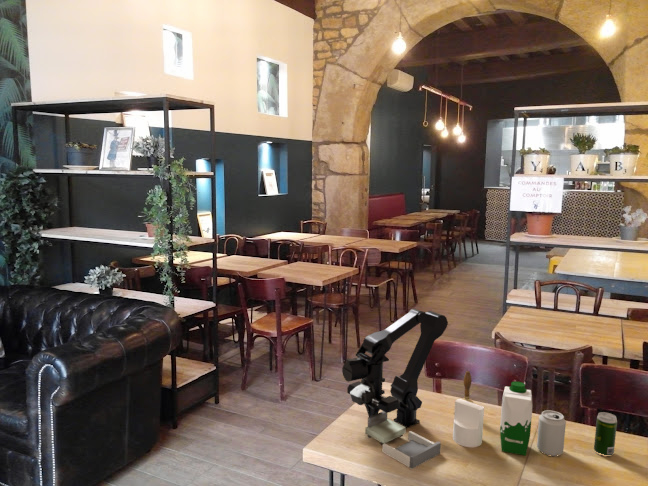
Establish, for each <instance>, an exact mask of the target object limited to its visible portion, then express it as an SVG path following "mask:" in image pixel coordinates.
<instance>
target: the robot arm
mask: <svg viewBox="0 0 648 486" xmlns="http://www.w3.org/2000/svg"><path fill="white" fill-rule="evenodd" d="M419 324H420V326H419V327H420V329H419V330H420V336H419V338H418V340H417V342H416V345H415V347H414V349H413V351H412V353H411V356H410V358H409V361H408V362H407V365H406V367H405V370H404V372H403V373H402V374H400V375H399V376H398V375H395V376H394V378H393V381H392V383H391V384H390V395H389V396H384V394H385V390H384V389H383V383H384V382H386V378H384V377H383V375H384V370H383V369H384V363H385V362H389V361H390V358H388V357H387V356H386V354H387V353H388V352H389V351H390V350H391V349H392V345H394V343H395V342H396V341H397V340H399V339H400V338H402V337H403V336H404V335H406V334H407V333H408V332H410V331H411V330H412V329H414V328H416V326H418V325H419ZM448 325H449V322H448V319H447V317H446V315H443V314H441V313H438V312H435V311H433V310H428V311H424V310H423V311H422V310H420V309H416V308H411V309H409V310H408V313H406V314H404V316H402V317H400V318H399V319H398V320H396V321H394V323H392V324H391V325H389V326H387V328H385V329H383V330H381V331H379V330H378V331H375V332H373V333H370V334H369V335H367V336H365V337H364V339H363V340H362V341H363V342H362V344H361V345H360V347H359V348H358V350H357V352H356V353H355V358H347V359H346V360H345V362H344V363H343V365H342V369H341V373H342V376H343V378H344V380H345V381H346V382H352V383H350V384H348V386H347V389H346V390H347V392H346V393H347V394H349V395H350V398H351V402H352V403H355V404H357V405H358V406H363V405H364V406H365V410H366V413H367V416H368V417H371V416H373V415H375V414H378V413H380V411H381V412H382V411H384V412H386V413H387V414H389V413H391V412H393V411H396V417H395V418H393V421H394V422H396V423H398V424H400V425H402V426H404V427H406V428H410V427H412V426H414V425H417V424H418V423H420V420H419V419H418V418H417V411H418V409H420V408H421V407H422V404H423V401H422V400H421V398H419V397H418V396H417V394H418V390H419V383H418V380H419V377H420V374H421V372H422V370H423V368H424V366H425V363H426V361H427V359H428V357H429V354H430V352H431V350H432V348H433V346H434V343H435V341H436V340H437V339H439V338H440V337H442V336H443V334H444V332H445V331H446V329H447V327H448ZM366 353H367V354H366ZM370 355H371V356H370ZM353 381H356V382H353Z"/></svg>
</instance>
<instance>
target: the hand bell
mask: <svg viewBox="0 0 648 486" xmlns="http://www.w3.org/2000/svg"><path fill="white" fill-rule="evenodd" d="M463 386H464V396H463V398H462V399H463V400H466V401H468V402H471V403H474V400H473V399H471V398H470V389H471V386H472V376H471V372H470V371H469V370H466V371H465V374H464V376H463Z"/></svg>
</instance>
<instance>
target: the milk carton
mask: <svg viewBox="0 0 648 486" xmlns="http://www.w3.org/2000/svg"><path fill="white" fill-rule="evenodd" d="M532 399H533V395H532V390H531V389H527V388H526V383H524V382H523V381H518V380H515V381H512V382H511V383H510V386H504V390H503V394H502V399H501V407H500V409H501V410H500V422H499V423H500V424H499V425H500V426H499V433H500V437H499V438H500V447H501V449H500V450H501V452H504V453H505V452H506V453H511V454H515V455H521V456H525V457H526V455H527V451H528V448H529V443H530V439H531V438H530V437H531V428H532V418H533V417H532V415H533V400H532Z"/></svg>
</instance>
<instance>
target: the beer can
mask: <svg viewBox="0 0 648 486" xmlns="http://www.w3.org/2000/svg"><path fill="white" fill-rule="evenodd" d="M617 425H618V420H617V416H616V415H615V414H612V413H609V412H604V411H603V412H598V413H597V416H596V424H595V434H594V442H593V443H594V444H593V450H594V452H595V451H596V452H598V453H601V454H604V455H612V454H613V453H615V444H616V436H617V427H618V426H617ZM596 452H595V453H596ZM613 455H614V454H613ZM613 455H612V456H613Z"/></svg>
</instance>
